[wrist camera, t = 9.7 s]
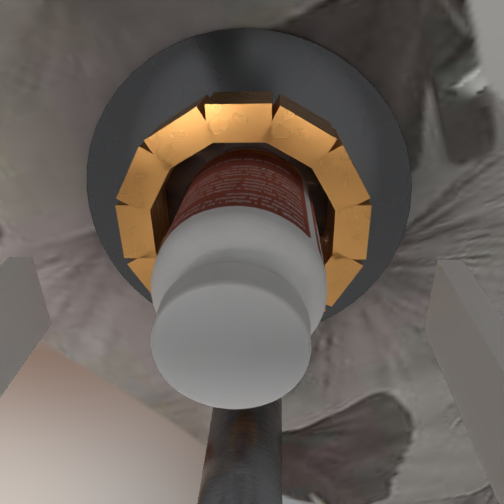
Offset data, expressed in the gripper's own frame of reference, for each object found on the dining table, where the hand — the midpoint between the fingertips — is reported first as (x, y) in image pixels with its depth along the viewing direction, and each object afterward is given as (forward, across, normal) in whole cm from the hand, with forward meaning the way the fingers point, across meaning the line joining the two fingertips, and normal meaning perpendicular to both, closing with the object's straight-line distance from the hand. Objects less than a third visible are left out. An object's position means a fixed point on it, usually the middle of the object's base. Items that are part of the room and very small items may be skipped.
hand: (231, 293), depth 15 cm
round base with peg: (+9, 0, -2) cm, 9 cm away
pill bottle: (+9, 0, -1) cm, 9 cm away
